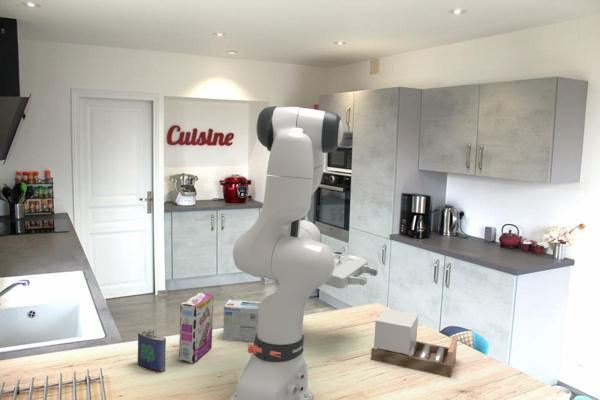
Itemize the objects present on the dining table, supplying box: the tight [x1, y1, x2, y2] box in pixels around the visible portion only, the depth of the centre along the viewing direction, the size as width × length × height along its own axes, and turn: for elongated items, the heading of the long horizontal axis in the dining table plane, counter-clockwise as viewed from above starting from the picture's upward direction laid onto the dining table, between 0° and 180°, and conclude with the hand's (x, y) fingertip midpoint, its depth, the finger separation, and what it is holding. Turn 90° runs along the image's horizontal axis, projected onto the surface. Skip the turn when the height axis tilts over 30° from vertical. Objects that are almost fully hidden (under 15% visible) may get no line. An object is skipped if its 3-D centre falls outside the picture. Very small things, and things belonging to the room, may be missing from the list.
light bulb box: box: [222, 299, 261, 343], centre depth 154 cm, size 11×7×11 cm, turn 84°
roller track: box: [370, 335, 459, 378], centre depth 144 cm, size 22×12×7 cm, turn 66°
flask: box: [137, 328, 167, 373], centre depth 132 cm, size 9×3×11 cm, turn 61°
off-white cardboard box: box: [373, 308, 419, 355], centre depth 145 cm, size 10×11×8 cm
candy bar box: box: [178, 292, 214, 365], centre depth 140 cm, size 11×5×16 cm, turn 164°
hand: (371, 277), depth 146 cm, fingers open, 8 cm apart
